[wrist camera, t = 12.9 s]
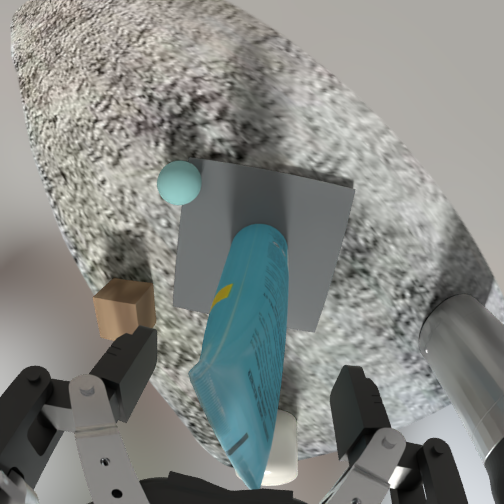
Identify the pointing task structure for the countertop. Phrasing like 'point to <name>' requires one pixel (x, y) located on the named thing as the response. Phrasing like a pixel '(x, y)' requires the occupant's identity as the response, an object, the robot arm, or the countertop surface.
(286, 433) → the white rounded cylinder
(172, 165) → the teal ball
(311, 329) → the plate
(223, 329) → the tube
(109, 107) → the countertop surface
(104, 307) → the walnut block
